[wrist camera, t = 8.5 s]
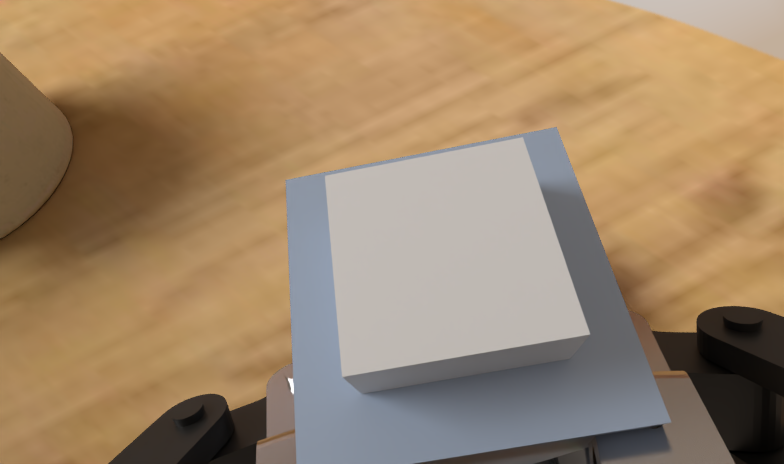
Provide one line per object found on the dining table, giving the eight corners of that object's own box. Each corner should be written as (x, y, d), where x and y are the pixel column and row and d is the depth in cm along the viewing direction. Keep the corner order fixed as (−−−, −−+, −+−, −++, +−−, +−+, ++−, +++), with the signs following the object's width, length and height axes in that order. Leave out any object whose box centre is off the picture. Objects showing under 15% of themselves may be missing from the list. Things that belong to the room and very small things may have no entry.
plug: (410, 483, 16) (263, 483, 4) (393, 361, 18) (260, 137, 6) (531, 464, 16) (715, 409, 4) (501, 343, 17) (569, 75, 6)
